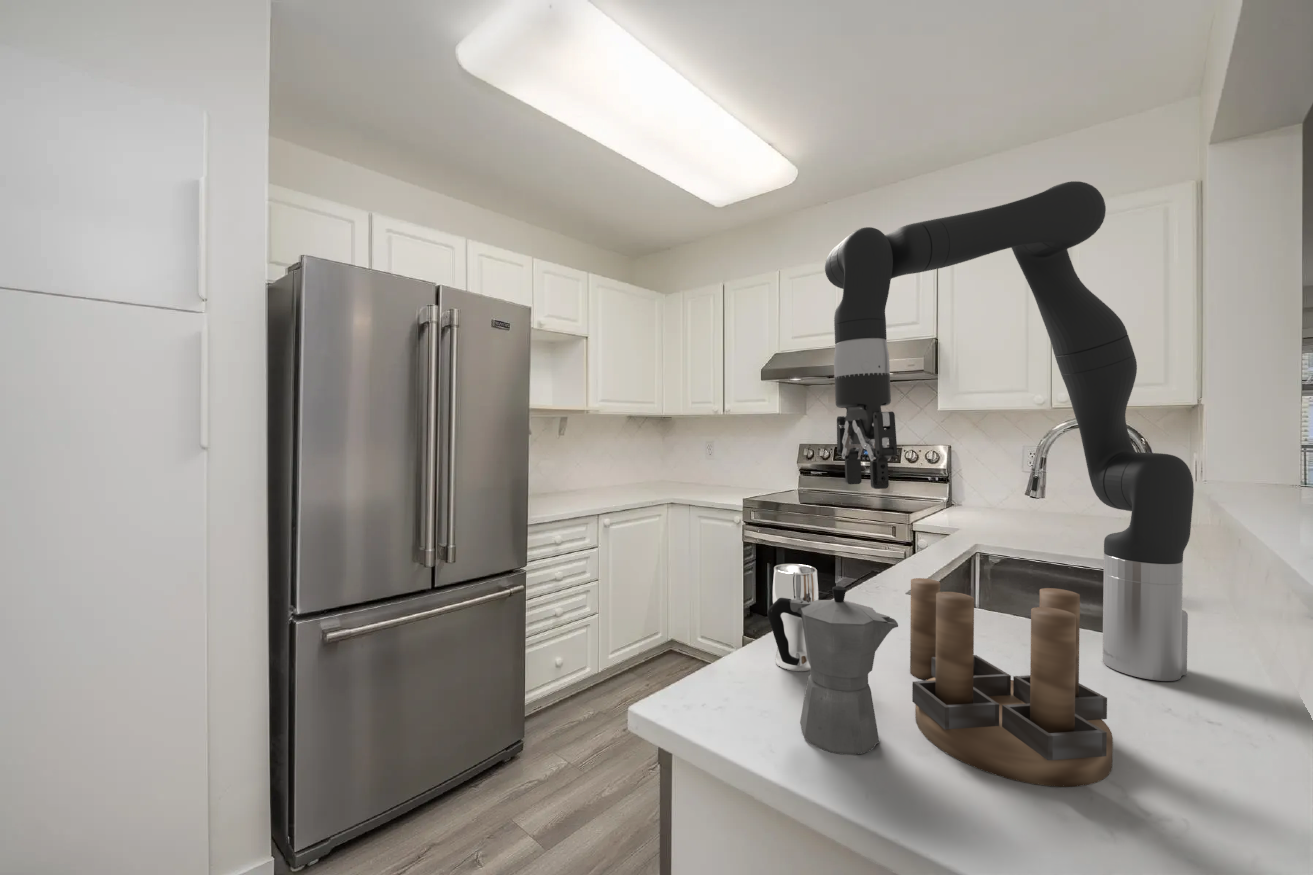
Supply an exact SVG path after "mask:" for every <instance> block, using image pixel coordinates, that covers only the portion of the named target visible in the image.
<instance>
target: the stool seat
mask: <svg viewBox="0 0 1313 875" xmlns="http://www.w3.org/2000/svg"><path fill="white" fill-rule="evenodd" d="M1080 600H1081V594H1080V593H1077V592H1075V591H1072V590H1066V589H1063V588H1062V589H1061V588H1054V587H1053V588H1052V587H1051V588H1050V587H1044V588H1043V587H1042V588H1040V589H1039V606H1035V607H1032V608H1031V609H1030V669H1029V670H1030V675H1013V676H1012V675H1011V674H1009V673H1008V672H1006V671H1004V670H1002V669H1001V668H999V667H997V666H995V665H994V664H992V663H990V662H989V661H987V660H985V659H983V658H982V657H980V656H978V655H977V654H975V653H974V652H975V650H974V645H975V642H974V641H975V636H974V635H975V634H974V633H975V597H973V596H972V595H969V594H966V593H962V592H956V591H940V592H939V593H937V594H936V657H932V660H931V675H932V676H933V677H934V678H931V679H928V680H920V681H919V680H917V681H916V680H915V681H912V686H911V688H912V694H911V695H912V696H911V698H912V700H911V701H912V703H913V704H914V705H915V706H914V707H915V711H914V714H915V715H914V716H915V724H916V725H917V727H918V729H919V731H920V732H921V734H922V735H923V736H924V737H925V738H926V739H927V740H928V741H929V742H931V744H933V745H934V746H935V747H937V748H938V749H939V750H941V751H943V752H944V753H946V754H948V755H949V756H951V757H952V758H954V759H956V760H958V761H961V762H962V763H964V764H965V765H969V766H971V767H972V768H973V767H974V768H975V769H978V770H980V771H984V772H987V773H990V774H992V775H994V776H995V775H996V776H998V777H1001V778H1005V779H1009V780H1013V781H1017V782H1020V783H1027V784H1031V785H1036V786H1045V787H1057V788H1058V787H1062V788H1066V787H1067V788H1069V787H1070V788H1072V787H1073V788H1075V787H1082V786H1083V787H1084V786H1089V785H1093V784H1097V783H1099V782H1100V781H1103V780H1104V779H1105V778H1107V777H1108V776H1110V774H1111V772H1112V770H1113V757H1114V756H1113V752H1114V751H1113V750H1114V749H1113V747H1114V744H1113V743H1114V742H1113V740H1114V738H1113V734H1112V730H1111V728H1110V727H1109V725H1108V724H1107V723H1106V722H1105V721H1104V720H1107V719H1108V697H1106V696H1104V695H1103V694H1100V693H1098V692H1096V691H1095V690H1093V689H1091V688H1090V687H1087V686H1085V685H1083V684H1082V683H1080V629H1081V628H1080V627H1081V626H1080V621H1081V616H1080V615H1081V614H1080V613H1081V612H1080V610H1081V608H1080V607H1081V601H1080ZM1012 677H1013V679H1012Z"/></svg>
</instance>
